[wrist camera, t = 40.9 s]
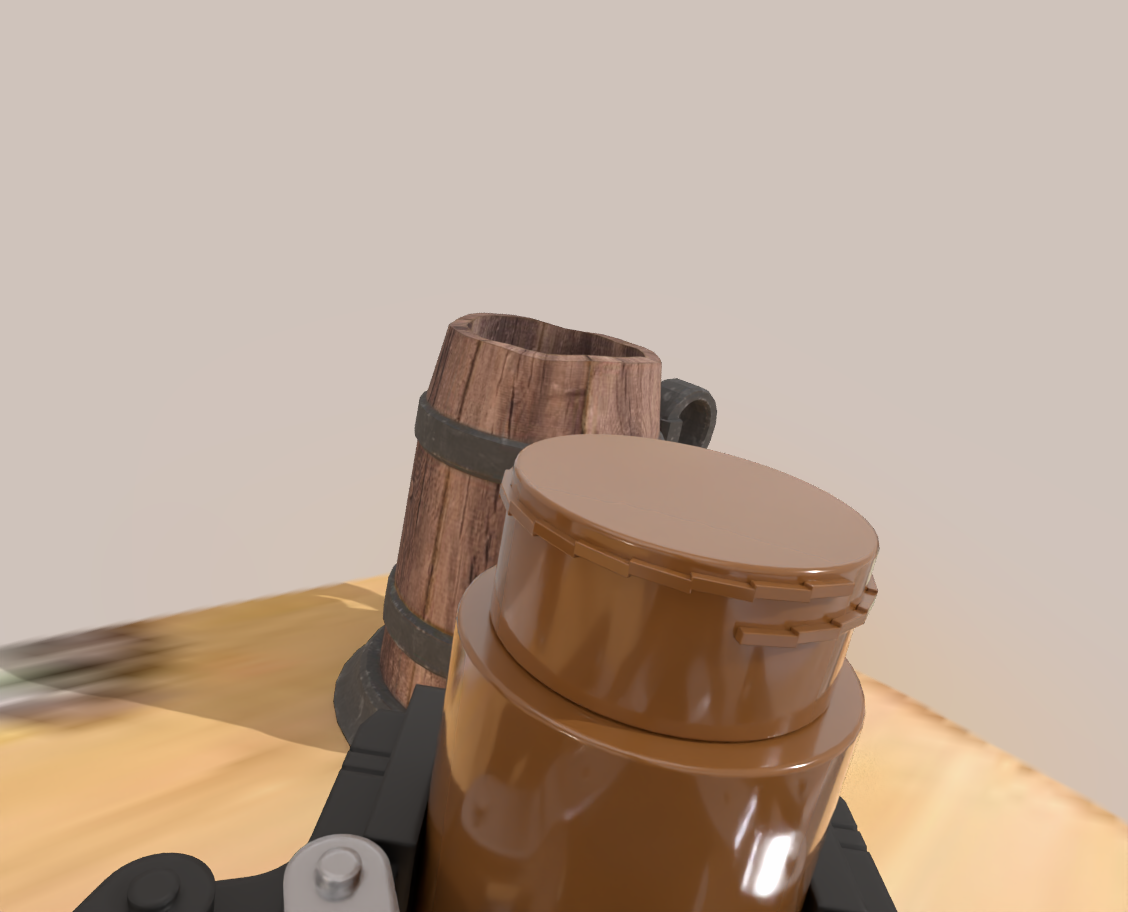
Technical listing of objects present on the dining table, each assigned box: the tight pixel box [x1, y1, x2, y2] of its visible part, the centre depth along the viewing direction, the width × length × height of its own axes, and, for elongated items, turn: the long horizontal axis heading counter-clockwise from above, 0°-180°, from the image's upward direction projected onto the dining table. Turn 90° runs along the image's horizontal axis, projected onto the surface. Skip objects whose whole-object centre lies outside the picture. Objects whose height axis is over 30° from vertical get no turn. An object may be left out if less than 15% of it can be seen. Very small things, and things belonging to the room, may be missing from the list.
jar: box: [411, 434, 879, 912], centre depth 11 cm, size 5×5×13 cm
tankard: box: [333, 313, 717, 745], centre depth 41 cm, size 24×17×20 cm
